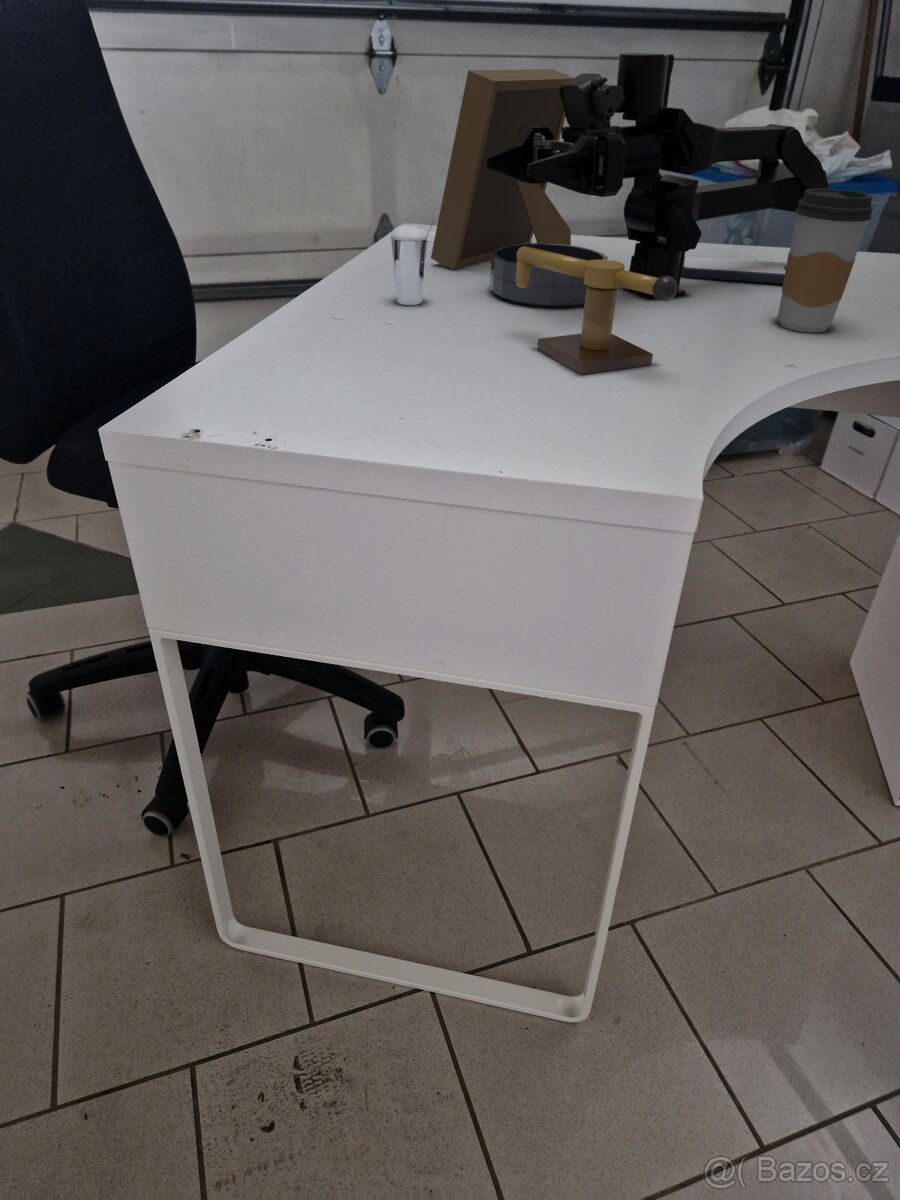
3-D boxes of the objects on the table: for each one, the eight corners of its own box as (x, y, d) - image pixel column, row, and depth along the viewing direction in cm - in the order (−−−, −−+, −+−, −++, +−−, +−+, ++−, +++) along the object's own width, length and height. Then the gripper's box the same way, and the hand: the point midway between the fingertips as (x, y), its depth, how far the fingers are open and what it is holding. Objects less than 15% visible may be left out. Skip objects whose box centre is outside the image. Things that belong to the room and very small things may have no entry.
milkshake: (428, 308, 105) (429, 223, 99) (387, 305, 106) (386, 220, 100) (436, 299, 109) (437, 216, 103) (396, 296, 109) (396, 214, 104)
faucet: (679, 323, 84) (688, 275, 81) (657, 330, 82) (665, 281, 79) (527, 283, 96) (531, 240, 93) (504, 288, 94) (507, 244, 91)
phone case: (678, 279, 123) (791, 286, 120) (680, 267, 122) (794, 275, 119) (680, 266, 130) (787, 273, 127) (682, 255, 129) (789, 262, 126)
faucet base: (604, 340, 96) (613, 273, 92) (651, 364, 89) (663, 293, 85) (537, 349, 93) (543, 280, 88) (581, 374, 86) (589, 301, 82)
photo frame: (430, 265, 125) (433, 68, 110) (508, 243, 139) (519, 67, 125) (513, 282, 118) (528, 74, 104) (586, 257, 132) (607, 72, 118)
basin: (563, 276, 121) (567, 240, 118) (624, 303, 110) (630, 263, 107) (471, 285, 115) (472, 247, 113) (525, 313, 104) (528, 272, 101)
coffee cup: (837, 321, 106) (874, 191, 97) (840, 339, 99) (880, 201, 91) (769, 313, 108) (800, 185, 99) (767, 330, 101) (800, 195, 93)
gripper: (574, 75, 104) (465, 83, 98) (673, 76, 90) (554, 85, 84) (570, 174, 110) (468, 187, 104) (663, 189, 96) (550, 205, 90)
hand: (506, 166), depth 96 cm, fingers open, 9 cm apart
